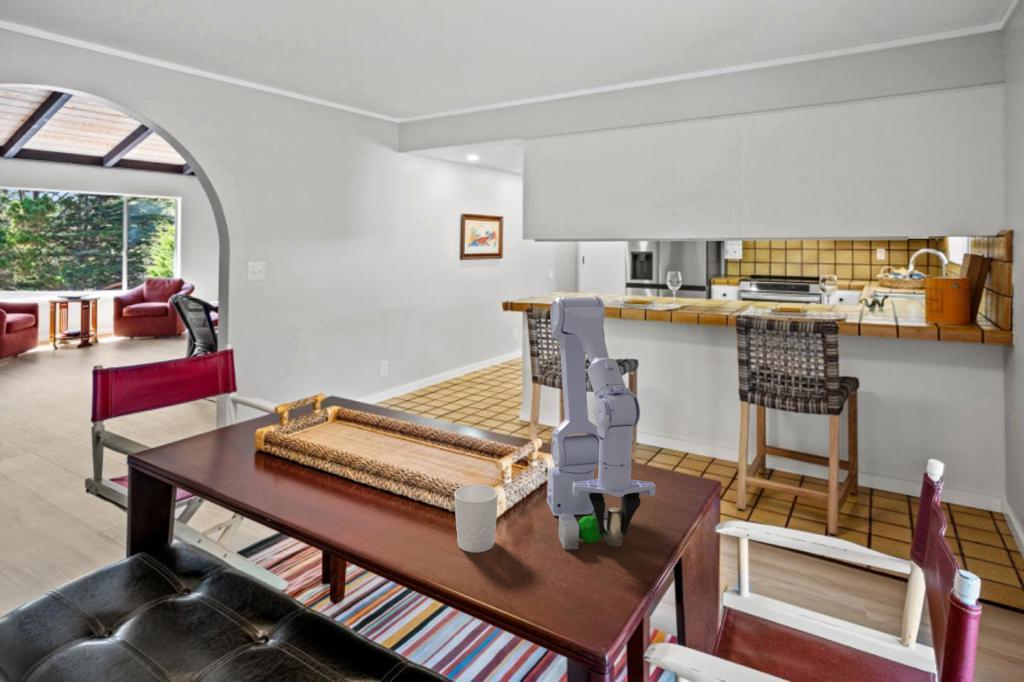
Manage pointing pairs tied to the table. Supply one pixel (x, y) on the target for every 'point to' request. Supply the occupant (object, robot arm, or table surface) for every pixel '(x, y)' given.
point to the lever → (612, 525)
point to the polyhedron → (589, 529)
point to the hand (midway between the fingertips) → (612, 532)
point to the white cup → (476, 517)
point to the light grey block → (568, 531)
